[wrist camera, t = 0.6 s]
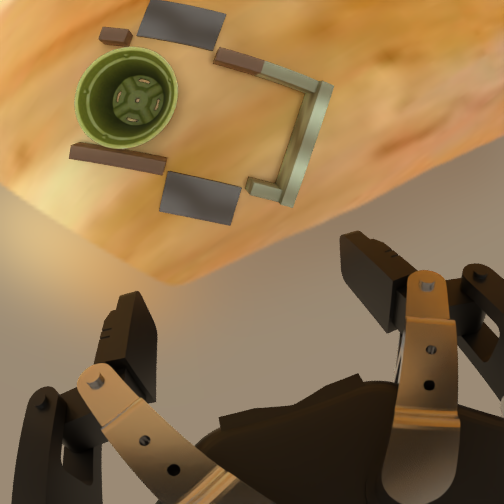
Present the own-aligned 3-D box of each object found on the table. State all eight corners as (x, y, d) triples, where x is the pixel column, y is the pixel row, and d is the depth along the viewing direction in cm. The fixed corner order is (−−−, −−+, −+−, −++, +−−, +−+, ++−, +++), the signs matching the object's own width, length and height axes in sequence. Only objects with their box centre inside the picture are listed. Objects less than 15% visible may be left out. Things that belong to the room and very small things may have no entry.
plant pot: (111, 55, 26) (90, 41, 19) (189, 69, 29) (191, 56, 22) (91, 132, 30) (65, 140, 22) (167, 146, 33) (161, 157, 25)
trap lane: (123, -4, 23) (117, -15, 20) (330, 53, 31) (346, 49, 28) (72, 194, 32) (60, 204, 29) (270, 233, 41) (278, 246, 37)
